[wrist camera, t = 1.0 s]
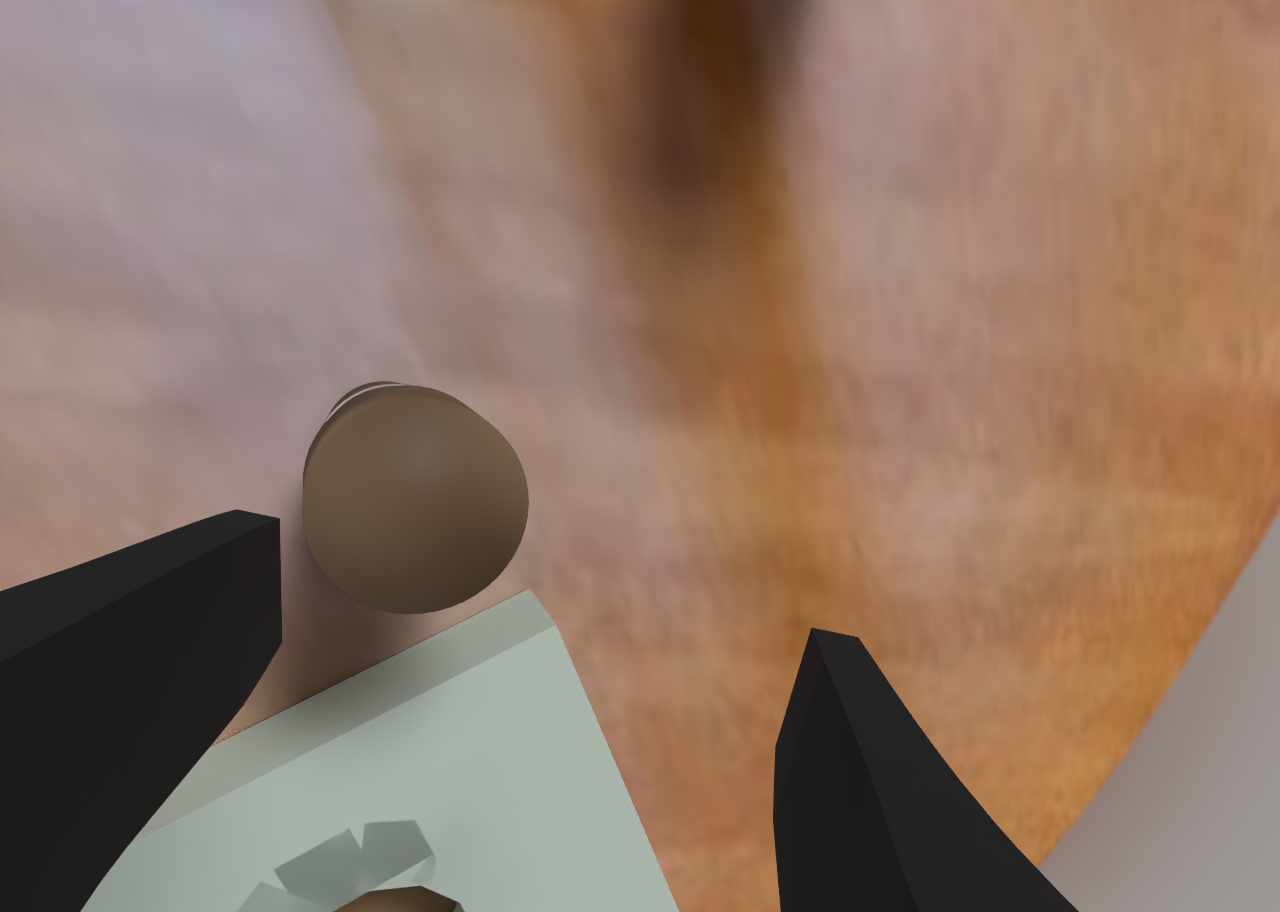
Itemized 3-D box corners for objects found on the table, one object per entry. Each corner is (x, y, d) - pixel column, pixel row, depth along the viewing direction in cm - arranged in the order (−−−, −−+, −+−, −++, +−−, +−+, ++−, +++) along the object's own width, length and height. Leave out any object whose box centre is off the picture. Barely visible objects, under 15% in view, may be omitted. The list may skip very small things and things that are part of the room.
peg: (344, 536, 23) (362, 651, 16) (275, 399, 22) (260, 456, 15) (483, 474, 24) (558, 554, 17) (425, 340, 23) (480, 365, 16)
